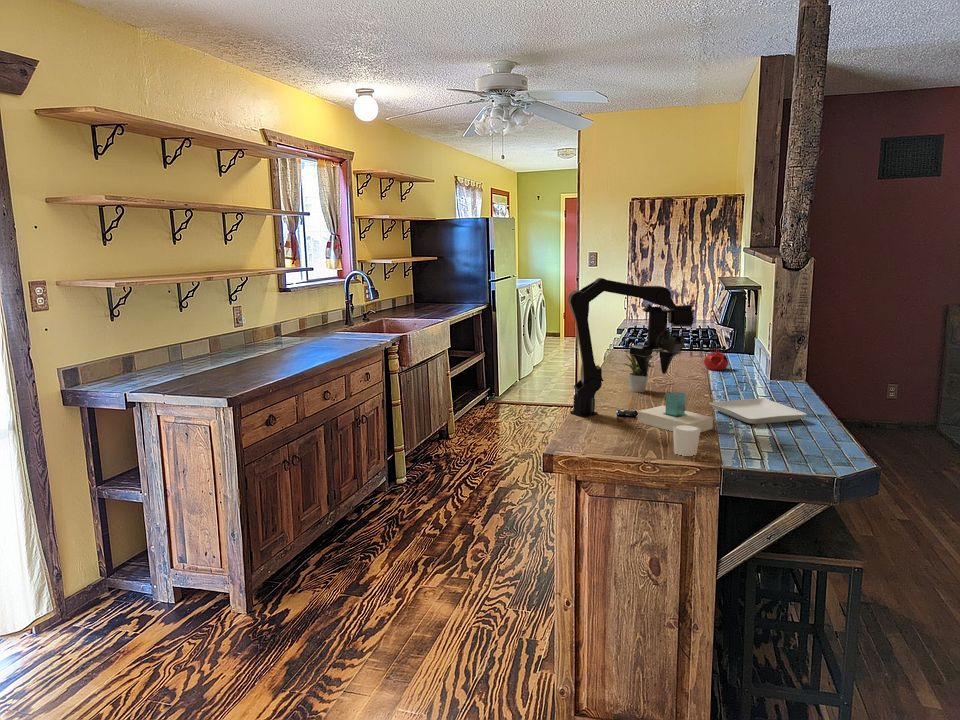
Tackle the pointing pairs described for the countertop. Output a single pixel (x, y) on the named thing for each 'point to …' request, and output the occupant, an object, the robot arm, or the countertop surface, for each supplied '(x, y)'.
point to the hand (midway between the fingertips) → (654, 375)
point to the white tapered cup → (686, 439)
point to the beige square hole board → (673, 419)
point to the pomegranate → (716, 361)
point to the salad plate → (758, 411)
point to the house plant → (637, 375)
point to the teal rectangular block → (675, 404)
